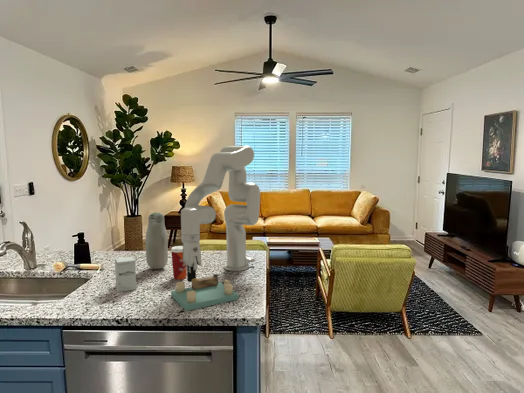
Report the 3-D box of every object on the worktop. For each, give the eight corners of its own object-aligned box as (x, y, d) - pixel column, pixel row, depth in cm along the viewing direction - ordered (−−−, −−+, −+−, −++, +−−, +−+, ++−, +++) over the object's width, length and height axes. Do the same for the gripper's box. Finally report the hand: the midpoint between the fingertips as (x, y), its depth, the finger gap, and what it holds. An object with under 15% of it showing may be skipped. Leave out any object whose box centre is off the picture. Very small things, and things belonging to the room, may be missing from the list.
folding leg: (216, 282, 153) (216, 273, 153) (219, 284, 151) (218, 275, 151) (191, 287, 147) (191, 277, 147) (193, 289, 145) (193, 279, 145)
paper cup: (184, 280, 163) (183, 249, 162) (168, 279, 164) (167, 249, 163) (191, 275, 171) (190, 245, 169) (175, 274, 172) (175, 245, 171)
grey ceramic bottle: (142, 270, 178) (140, 213, 175) (156, 264, 188) (154, 210, 185) (159, 272, 174) (157, 214, 172) (172, 266, 184) (170, 211, 181)
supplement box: (117, 292, 148) (116, 262, 147) (115, 287, 155) (114, 258, 154) (136, 289, 152) (135, 260, 151) (134, 284, 158) (132, 255, 157)
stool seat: (219, 286, 155) (219, 273, 155) (238, 299, 141) (238, 285, 140) (171, 295, 145) (171, 282, 144) (186, 311, 130) (185, 296, 130)
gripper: (206, 240, 147) (207, 284, 148) (192, 233, 159) (193, 274, 161) (188, 242, 143) (189, 288, 145) (176, 235, 155) (177, 277, 157)
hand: (191, 280), depth 153 cm, fingers closed
